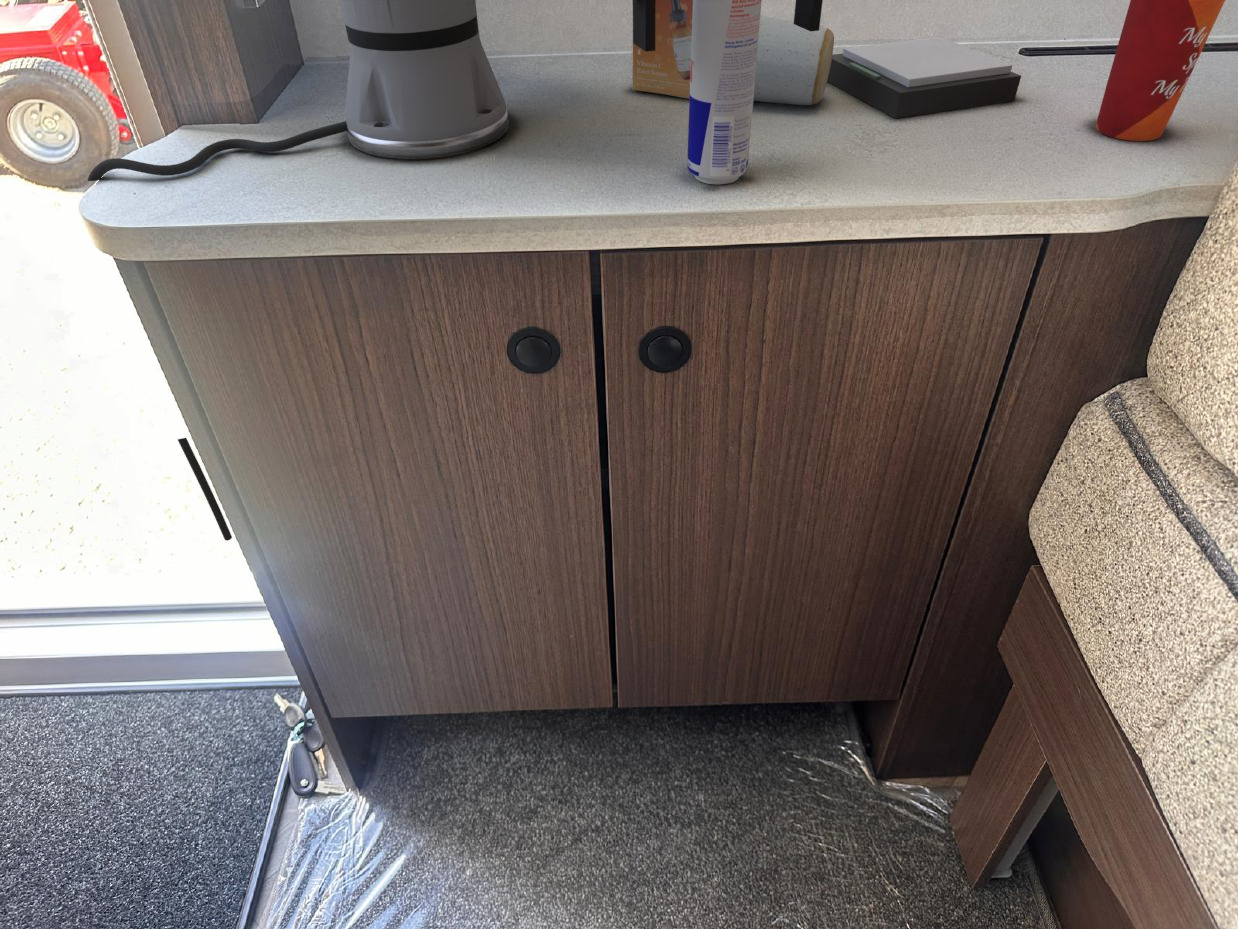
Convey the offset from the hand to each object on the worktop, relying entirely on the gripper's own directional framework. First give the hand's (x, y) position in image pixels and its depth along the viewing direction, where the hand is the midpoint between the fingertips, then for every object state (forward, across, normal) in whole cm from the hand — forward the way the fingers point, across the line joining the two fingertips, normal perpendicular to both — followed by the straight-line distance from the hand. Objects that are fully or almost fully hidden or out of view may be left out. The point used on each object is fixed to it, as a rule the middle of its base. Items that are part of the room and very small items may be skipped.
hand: (727, 37), depth 64 cm
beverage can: (+11, 0, 0) cm, 11 cm away
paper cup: (+11, +40, -4) cm, 41 cm away
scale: (+11, +29, +14) cm, 34 cm away
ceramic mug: (+11, +15, +17) cm, 25 cm away
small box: (+11, +6, +24) cm, 27 cm away
